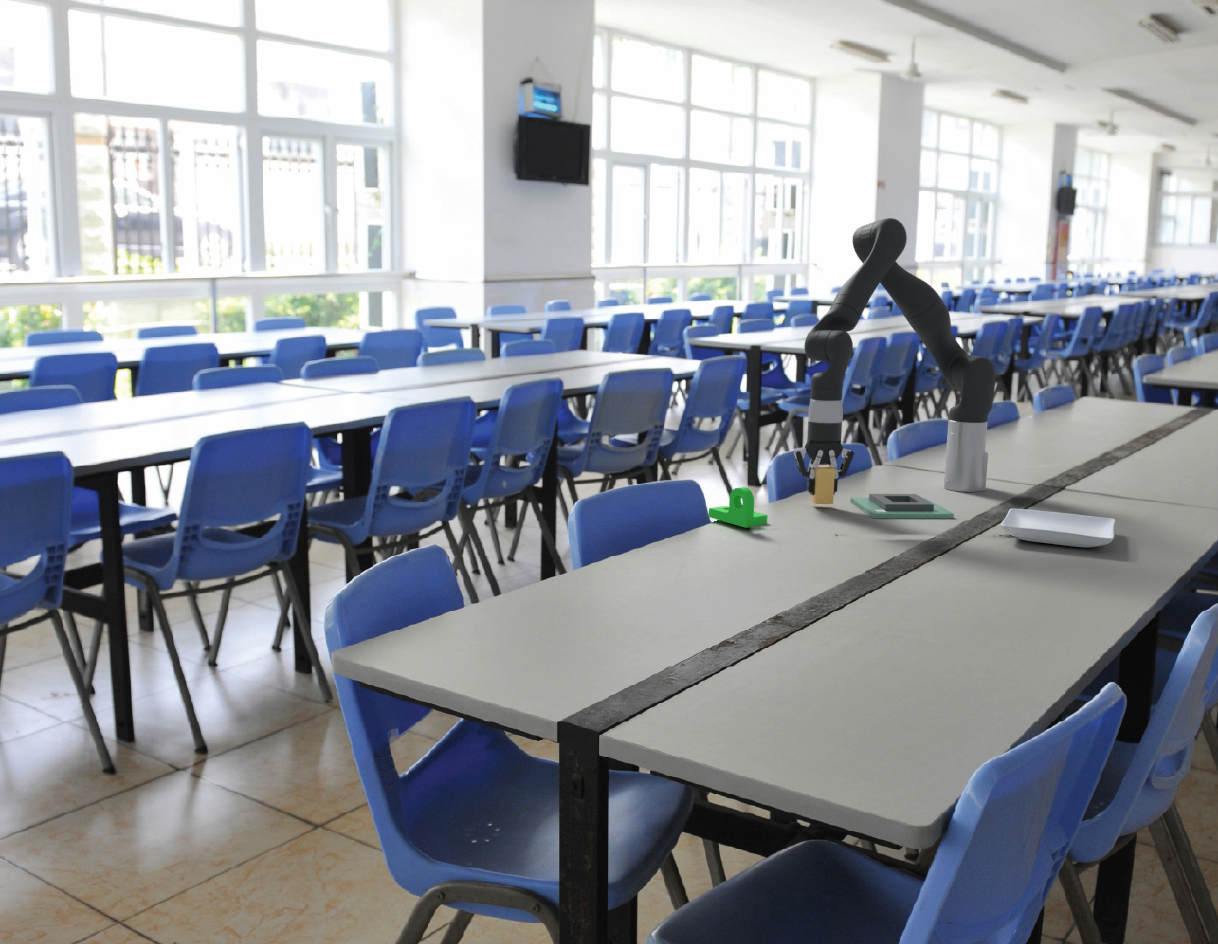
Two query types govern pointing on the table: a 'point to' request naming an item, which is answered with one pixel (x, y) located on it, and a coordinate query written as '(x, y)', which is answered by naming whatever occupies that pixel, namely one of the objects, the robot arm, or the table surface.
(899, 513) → the socket board
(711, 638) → the table surface
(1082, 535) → the salad plate
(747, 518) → the mechanical part
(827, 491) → the amber plug
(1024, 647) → the table surface
